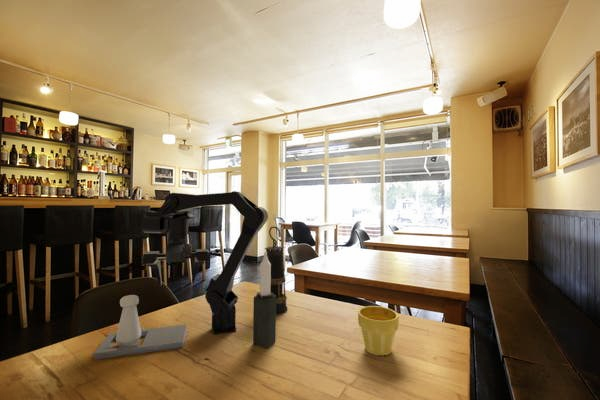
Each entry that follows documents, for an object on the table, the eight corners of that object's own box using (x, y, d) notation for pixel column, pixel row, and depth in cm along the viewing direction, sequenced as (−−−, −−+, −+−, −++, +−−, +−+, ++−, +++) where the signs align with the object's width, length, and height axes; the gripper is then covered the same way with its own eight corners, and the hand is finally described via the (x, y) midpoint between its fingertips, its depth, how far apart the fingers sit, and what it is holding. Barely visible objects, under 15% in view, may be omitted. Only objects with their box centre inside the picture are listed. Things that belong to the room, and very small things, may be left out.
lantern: (277, 303, 107) (278, 224, 107) (292, 310, 100) (294, 226, 100) (257, 309, 101) (258, 226, 101) (272, 317, 94) (273, 227, 94)
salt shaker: (129, 352, 72) (130, 300, 72) (110, 349, 73) (110, 299, 73) (145, 341, 77) (146, 293, 77) (127, 338, 78) (128, 292, 78)
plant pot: (350, 351, 73) (351, 313, 73) (367, 336, 82) (367, 302, 82) (390, 365, 67) (390, 324, 67) (403, 348, 75) (403, 311, 75)
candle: (277, 340, 78) (278, 251, 79) (267, 349, 74) (268, 254, 74) (261, 336, 81) (262, 249, 81) (251, 344, 76) (252, 252, 76)
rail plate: (186, 329, 84) (186, 324, 84) (183, 347, 74) (183, 341, 74) (109, 338, 78) (109, 333, 78) (93, 359, 68) (93, 353, 68)
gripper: (137, 237, 76) (136, 295, 76) (209, 235, 82) (208, 289, 82) (145, 233, 87) (145, 283, 87) (209, 231, 93) (208, 279, 93)
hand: (176, 284), depth 87 cm, fingers open, 9 cm apart
